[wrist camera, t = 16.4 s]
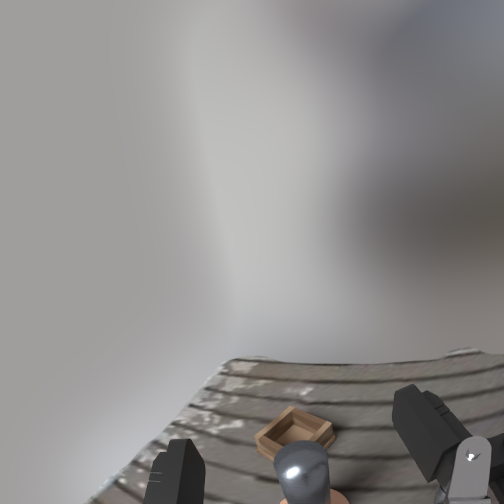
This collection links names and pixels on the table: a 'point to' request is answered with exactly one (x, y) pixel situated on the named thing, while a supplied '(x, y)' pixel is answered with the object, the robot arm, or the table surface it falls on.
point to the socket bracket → (293, 432)
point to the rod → (303, 472)
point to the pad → (337, 499)
